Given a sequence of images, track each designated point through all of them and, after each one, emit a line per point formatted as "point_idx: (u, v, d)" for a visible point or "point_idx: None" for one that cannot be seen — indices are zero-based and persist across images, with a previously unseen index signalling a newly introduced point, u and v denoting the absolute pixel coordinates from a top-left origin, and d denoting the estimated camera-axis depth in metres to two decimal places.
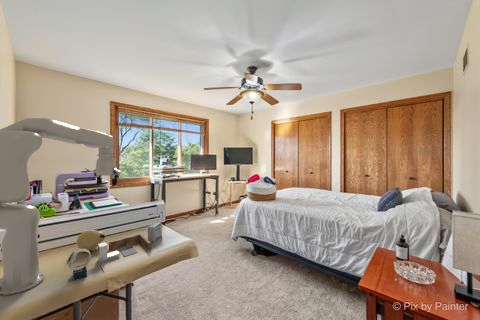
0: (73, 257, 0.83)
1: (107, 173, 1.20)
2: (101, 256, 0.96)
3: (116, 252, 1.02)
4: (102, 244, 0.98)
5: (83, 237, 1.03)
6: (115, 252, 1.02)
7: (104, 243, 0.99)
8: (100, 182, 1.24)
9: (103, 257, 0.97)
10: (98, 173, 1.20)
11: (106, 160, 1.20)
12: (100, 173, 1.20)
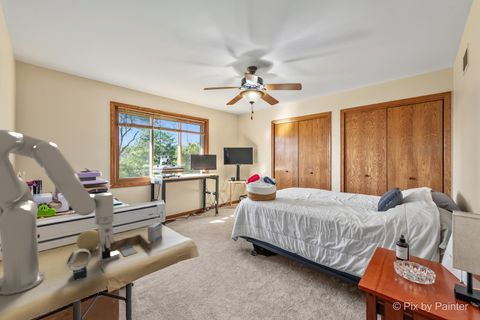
0: (73, 257, 0.83)
1: None
2: (101, 256, 0.96)
3: (116, 252, 1.02)
4: None
5: (83, 237, 1.03)
6: (115, 252, 1.02)
7: (104, 243, 0.99)
8: None
9: None
10: None
11: None
12: None
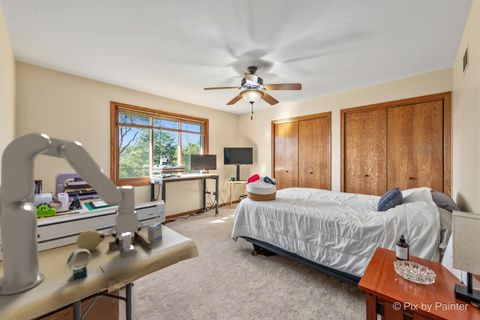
0: (73, 257, 0.83)
1: (134, 228, 1.08)
2: (121, 243, 1.09)
3: (129, 249, 1.05)
4: (125, 234, 1.09)
5: (83, 237, 1.03)
6: (130, 248, 1.06)
7: (127, 234, 1.09)
8: None
9: (122, 245, 1.08)
10: (122, 231, 1.04)
11: (132, 214, 1.07)
12: (124, 231, 1.05)
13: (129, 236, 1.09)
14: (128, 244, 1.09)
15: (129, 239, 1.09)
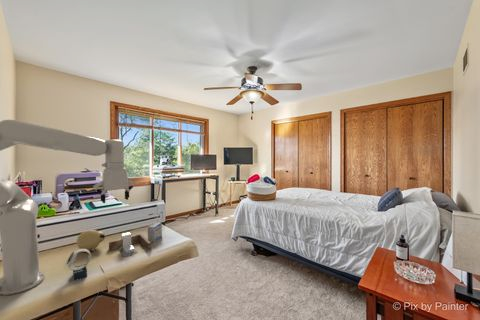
0: (73, 257, 0.83)
1: (123, 186, 0.99)
2: (121, 243, 1.09)
3: (129, 249, 1.05)
4: (125, 234, 1.09)
5: (83, 237, 1.03)
6: (130, 248, 1.06)
7: (127, 234, 1.09)
8: None
9: (122, 245, 1.08)
10: (109, 188, 0.95)
11: (121, 170, 0.98)
12: (112, 187, 0.96)
13: (129, 236, 1.09)
14: (128, 244, 1.09)
15: (129, 239, 1.09)
